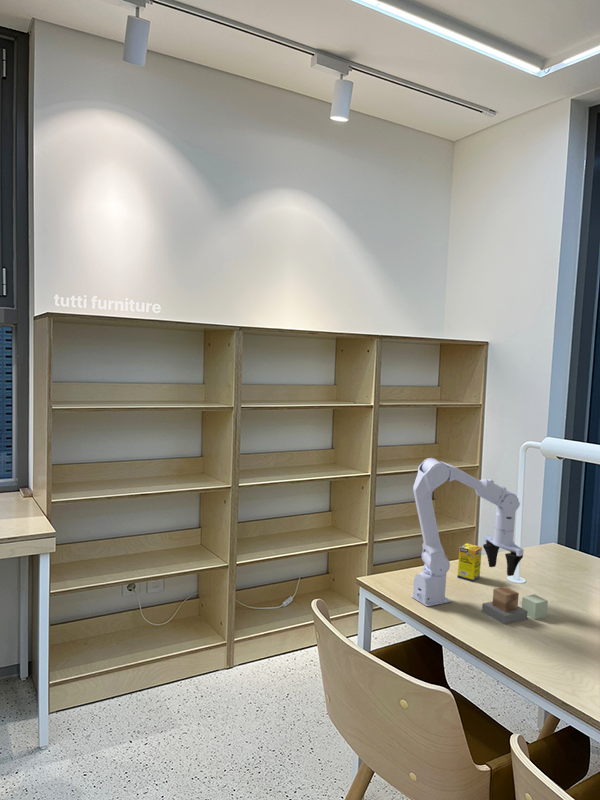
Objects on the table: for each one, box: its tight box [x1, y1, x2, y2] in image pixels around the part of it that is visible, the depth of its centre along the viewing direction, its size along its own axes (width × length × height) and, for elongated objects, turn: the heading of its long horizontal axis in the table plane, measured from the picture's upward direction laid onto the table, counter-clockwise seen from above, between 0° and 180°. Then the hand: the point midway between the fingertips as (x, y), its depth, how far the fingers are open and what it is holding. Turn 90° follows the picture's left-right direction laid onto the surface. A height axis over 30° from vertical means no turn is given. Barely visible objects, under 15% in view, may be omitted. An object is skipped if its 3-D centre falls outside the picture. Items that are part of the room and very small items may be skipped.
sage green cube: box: [521, 594, 549, 620], centre depth 178 cm, size 5×5×5 cm
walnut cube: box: [492, 586, 520, 612], centre depth 177 cm, size 5×5×5 cm
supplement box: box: [457, 542, 483, 583], centre depth 206 cm, size 6×6×11 cm
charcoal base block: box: [481, 600, 528, 625], centre depth 177 cm, size 9×9×3 cm
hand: (501, 570), depth 187 cm, fingers open, 7 cm apart
